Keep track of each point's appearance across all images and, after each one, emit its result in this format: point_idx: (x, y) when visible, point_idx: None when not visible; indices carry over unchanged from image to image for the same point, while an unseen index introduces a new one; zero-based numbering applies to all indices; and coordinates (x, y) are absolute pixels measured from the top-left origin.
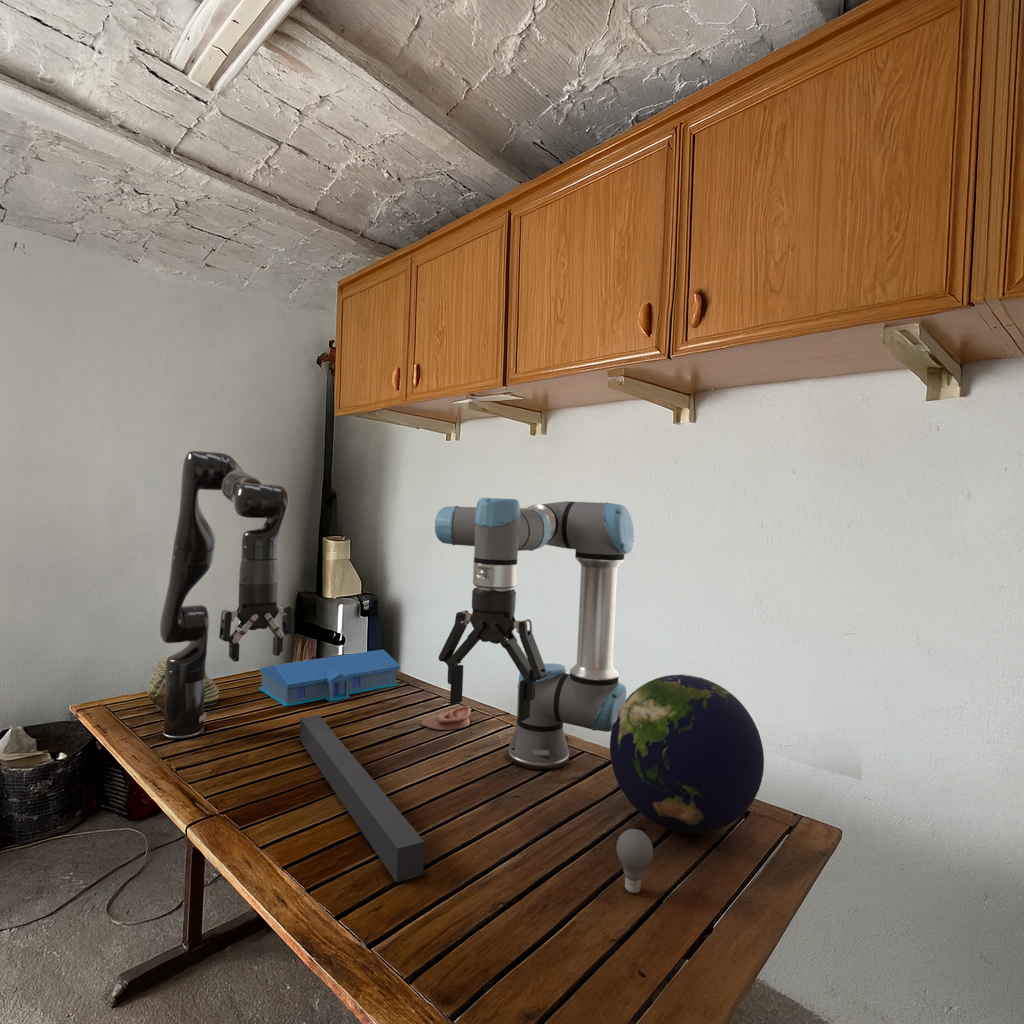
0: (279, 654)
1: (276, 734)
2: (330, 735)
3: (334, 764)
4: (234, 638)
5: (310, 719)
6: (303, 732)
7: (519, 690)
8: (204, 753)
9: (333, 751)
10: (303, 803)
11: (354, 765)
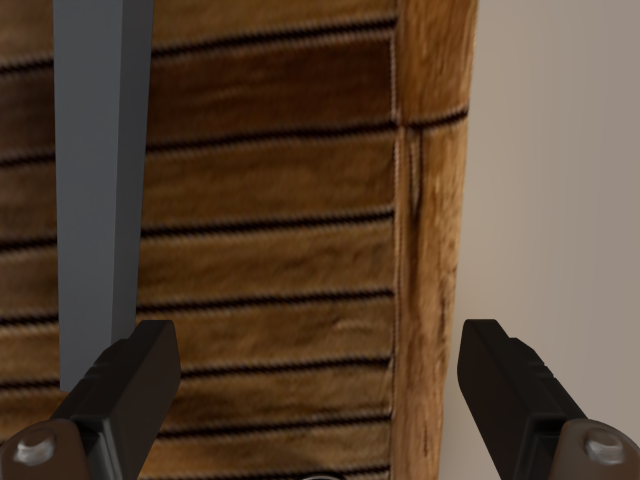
0: (147, 320)
1: None
2: (71, 257)
3: (121, 70)
4: (633, 470)
5: None
6: None
7: None
8: (320, 400)
9: (96, 152)
10: (235, 52)
11: (71, 19)
